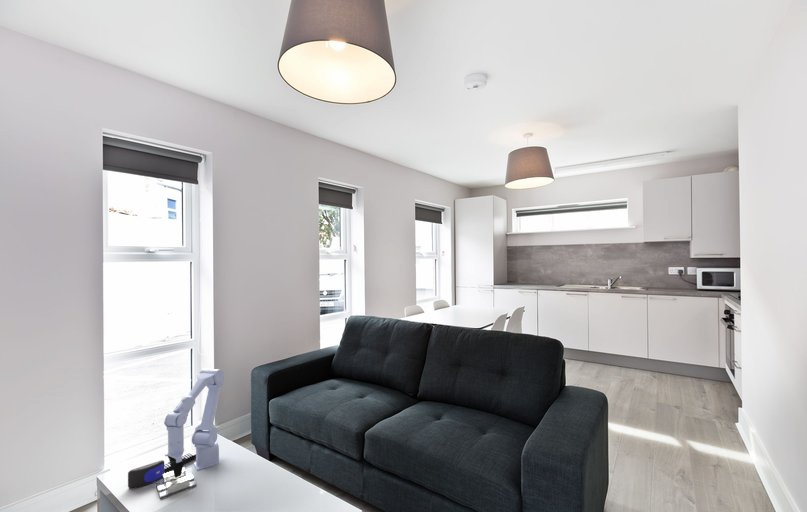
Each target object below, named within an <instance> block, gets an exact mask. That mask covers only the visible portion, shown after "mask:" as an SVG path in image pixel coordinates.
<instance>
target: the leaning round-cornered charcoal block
mask: <svg viewBox="0 0 807 512" xmlns="http://www.w3.org/2000/svg"><path fill="white" fill-rule="evenodd" d="M163 474H165V460H163V459H162V460H158V461H155V462H152V463H149V464H145V465H143V466H139V467H136V468H133V469H131V470H128V473H127V488H129V489H138V488H142V487H144V486H145V487H146V486H148V485H151V484H153V483H157V482H158V481H159V480H161V479H163Z"/></svg>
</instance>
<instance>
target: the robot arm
mask: <svg viewBox="0 0 807 512" xmlns="http://www.w3.org/2000/svg"><path fill="white" fill-rule="evenodd" d="M224 379H225V372H224V370H223V369H221V368H218V369H217V368H215V369H214V368H205V367H204V368H202V369H201V370H200V371H199V372H198V374H197V381H196V383H194V385H193V386H192V388H191V390H190V392H189V393H188V395H185V396H184V397H182V399H181V401H180V402H179V403H178V404H177V405H176V406H175V408H174V410H173V411H171V412H170V413H168V414H167V415H166V416H165V419H164V421H163V424H164V426H165V427H166V431H167V452H164V457H167V458H168V460H169V461H168V462H169V463H170V468H171V471H174V476H175V477H178V476H181V473H182V468H183V467H184V465H185V463H186V461H187V458H186V457H183V455H184V452H185V445H184V443H185V441H184V438H185V437H184V436H185V435H184V433H185V431H184V425H185V424H186V423H187V420H188V416H189V413H190V411H192V409H193V407H194V406H195V405H196V399H197V397H198V396H200V394H201V393H202V391H204V389H205V388H206V387H207V389H208V391H207V395H206V399H205V405H204V408H203V413H202V417H201V422H200V424H199V425H197V426H196V427H195V430H194V432H193V434H192V435H191V443H192V445H194V448H195V461H194V462H193V465H194V467H195V469H196V470H197V471H200V470H202V469H203V470H204V469H205V468H206V469H207V468H209V467H212V466H214V465H218V464H220V445H219V442H218V441H217V440H218V427H217V426H216V424H214V423H215V417H216V413H217V409H218V408H217V407H218V403H219V397H220V394H221V390H222V389H221V388H222V387H223V382H224Z"/></svg>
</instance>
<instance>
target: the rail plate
mask: <svg viewBox="0 0 807 512" xmlns="http://www.w3.org/2000/svg"><path fill="white" fill-rule="evenodd" d="M195 486H196V487H197V483H196V481H195V477H194V475H193V474H192V472H191V471H189V472H187V471H186V469H185V466H183V468H182V473H181V476H178V477H175V476H174V471H173V470H171V471H169V472H168V471H167V472H166V473H165V472H164V474H163V477H162V480H161V481H159V482H158V481H157V482H155V488H156V490H157V493H158V496H159V499H160V500H163V499H166V498H169V497H172V496H173V495H174V496H175V495H177V494H180V493H181V492H184V491H188V490H190V489H193V488H195ZM187 489H188V490H187Z"/></svg>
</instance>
